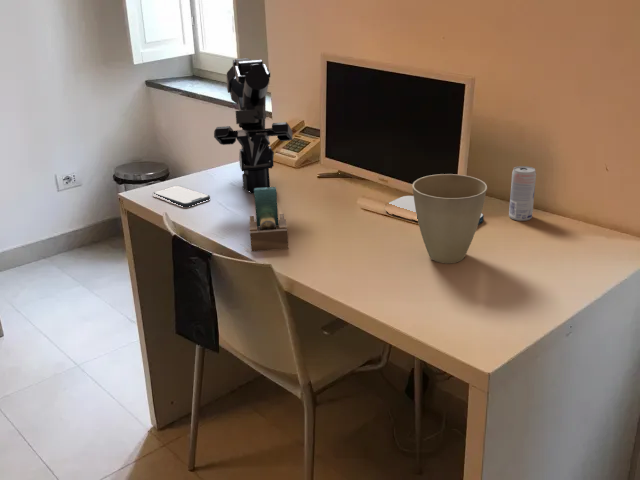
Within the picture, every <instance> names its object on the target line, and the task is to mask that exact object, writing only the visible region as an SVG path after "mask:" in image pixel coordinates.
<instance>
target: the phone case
mask: <svg viewBox="0 0 640 480" xmlns="http://www.w3.org/2000/svg"><path fill="white" fill-rule="evenodd" d="M164 189H165V190H164ZM164 189H160V191H159V190H156V191H154V192H153V193H154V194H156V195H158V196H160V197H163V198H165V199H167V200H170V201H171V202H173V203H176V204H178V205H181V206H183V207H189V206H192V205H195V204H197V203H200V202H203V201H206V200H209V199H210V200H211V196H210V195H209V194H207V193H204V192H200V191H196V190H194V189H191V188H190V189H189V188H188V187H184V186H181V185H173V186H170V188H169V187H167V189H166V188H164ZM189 208H190V207H189Z"/></svg>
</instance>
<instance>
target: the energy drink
mask: <svg viewBox="0 0 640 480" xmlns="http://www.w3.org/2000/svg"><path fill="white" fill-rule="evenodd" d="M536 177H537V172H536V168H534V167H532V166H526V165H524V166H523V165H520V166H515V167H513V170H512V173H511V184H510V186H511V187H510V197H509V209H508V217H509V218H510V219H512V220H513V221H517V222H519V221H520V222H525V221H530V220H532V218H533V212H534V198H535V189H536V180H537V178H536Z"/></svg>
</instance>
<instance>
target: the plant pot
mask: <svg viewBox="0 0 640 480" xmlns="http://www.w3.org/2000/svg"><path fill="white" fill-rule="evenodd" d="M411 186H412V193H413V194H412V196H414V203H415V209H416V214H417V219H418V222H417V223H418V226H419V230H420V233H421V237H422V240H423V243H424V246H425V249H426V252H427V253H428V256H429V258H430V259H431V260H432V261H434V262H435V263H436V262H437V263H441V264H455V263H458V262H461V261H463V260H464V258H465V256H466V255H467V253H468V251H469V248H470V245H471V244H472V242H473V239H474V236H475V234H476V231H477V229H478V226H479V225H478V223H479V220H480V216H481V213H482V212H483V208H484V204H485V200H486V196H487V195H486V194H487V190H488V186H487V184H486V182H485V181H483V180H481V179H479V178H476V177H474V176H470V175H464V174H456V173H455V174H453V173H445V174H444V173H440V174H432V175H431V174H430V175H426V176H423V177H420V178H417V179H416V180H414V181H413V182H412V185H411ZM482 214H483V213H482Z"/></svg>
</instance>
